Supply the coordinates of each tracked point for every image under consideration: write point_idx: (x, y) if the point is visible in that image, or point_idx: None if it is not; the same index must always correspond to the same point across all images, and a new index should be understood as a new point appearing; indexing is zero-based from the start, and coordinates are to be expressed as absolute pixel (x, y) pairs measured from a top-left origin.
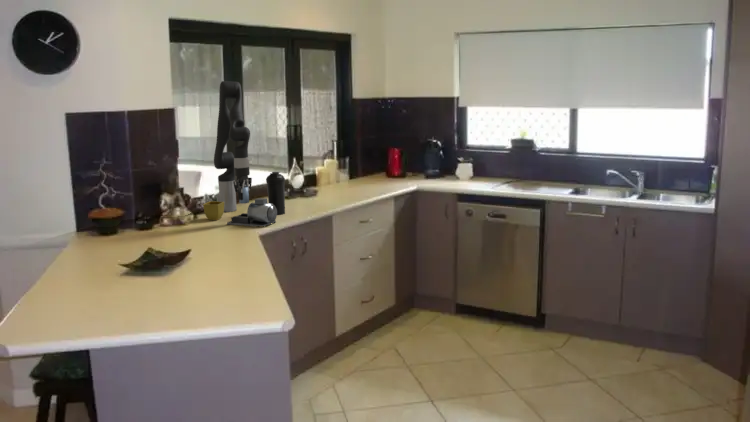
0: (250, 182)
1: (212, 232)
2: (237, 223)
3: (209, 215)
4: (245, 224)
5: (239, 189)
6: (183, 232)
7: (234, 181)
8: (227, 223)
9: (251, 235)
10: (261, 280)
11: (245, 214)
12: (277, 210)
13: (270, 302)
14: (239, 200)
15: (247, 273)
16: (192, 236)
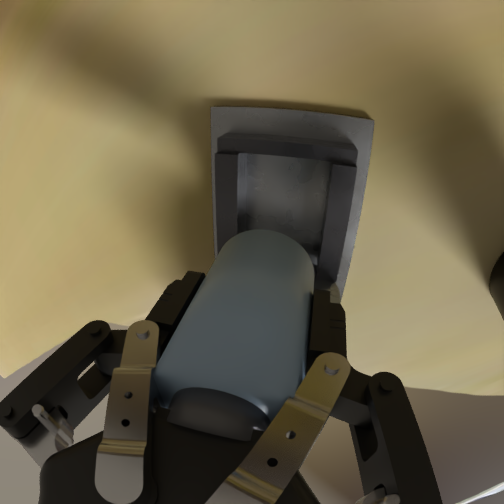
0: (369, 489)
1: (62, 153)
2: (212, 184)
3: None
4: (215, 235)
5: (101, 383)
6: (32, 43)
7: (5, 426)
8: (212, 110)
9: (104, 312)
10: (10, 362)
11: (328, 199)
12: (498, 303)
13: (3, 370)
14: (217, 258)
15: (5, 348)
16: (10, 128)
